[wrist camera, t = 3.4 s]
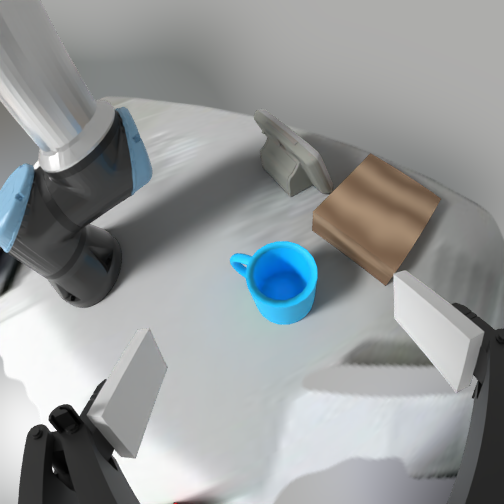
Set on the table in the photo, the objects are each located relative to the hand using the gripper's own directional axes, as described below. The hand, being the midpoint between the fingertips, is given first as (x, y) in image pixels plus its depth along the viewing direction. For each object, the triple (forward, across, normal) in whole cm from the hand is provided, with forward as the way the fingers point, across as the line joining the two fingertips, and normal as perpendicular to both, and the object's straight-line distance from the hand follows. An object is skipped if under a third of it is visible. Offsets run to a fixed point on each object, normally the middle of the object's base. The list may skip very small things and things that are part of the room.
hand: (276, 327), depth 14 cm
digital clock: (+39, +8, +6) cm, 40 cm away
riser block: (+29, +18, -4) cm, 35 cm away
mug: (+25, 0, -9) cm, 26 cm away
